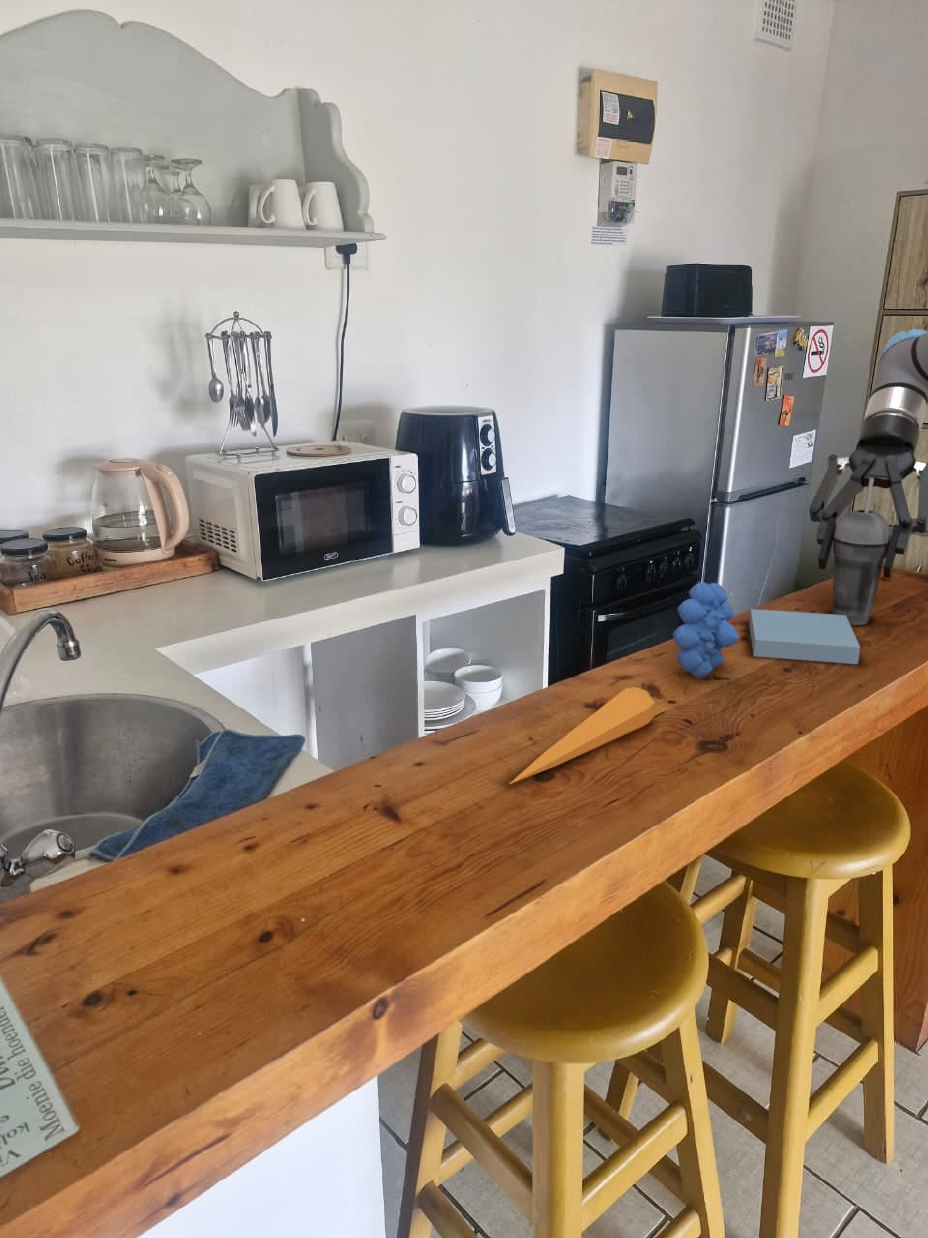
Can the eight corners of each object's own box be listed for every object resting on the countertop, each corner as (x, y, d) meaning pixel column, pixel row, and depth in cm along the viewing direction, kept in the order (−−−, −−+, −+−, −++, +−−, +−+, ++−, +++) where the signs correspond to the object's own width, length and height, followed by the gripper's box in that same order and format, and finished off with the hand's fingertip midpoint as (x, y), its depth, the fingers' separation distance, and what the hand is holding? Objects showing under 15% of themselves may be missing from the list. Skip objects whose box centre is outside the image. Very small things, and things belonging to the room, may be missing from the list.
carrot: (635, 722, 93) (622, 683, 92) (667, 720, 89) (654, 680, 89) (501, 806, 81) (484, 762, 81) (531, 808, 77) (515, 762, 77)
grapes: (710, 703, 95) (719, 599, 91) (656, 687, 100) (662, 587, 96) (756, 671, 103) (766, 575, 99) (703, 658, 108) (711, 565, 104)
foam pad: (843, 632, 115) (845, 615, 115) (857, 666, 104) (860, 647, 104) (749, 626, 118) (750, 608, 118) (753, 658, 107) (755, 639, 107)
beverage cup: (874, 615, 122) (895, 472, 115) (883, 632, 115) (906, 482, 109) (819, 611, 124) (837, 471, 117) (824, 628, 117) (843, 480, 111)
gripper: (971, 450, 119) (938, 593, 112) (817, 441, 130) (777, 571, 122) (975, 414, 113) (941, 563, 106) (813, 408, 124) (771, 543, 116)
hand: (853, 567), depth 114 cm, fingers closed on beverage cup, 7 cm apart
